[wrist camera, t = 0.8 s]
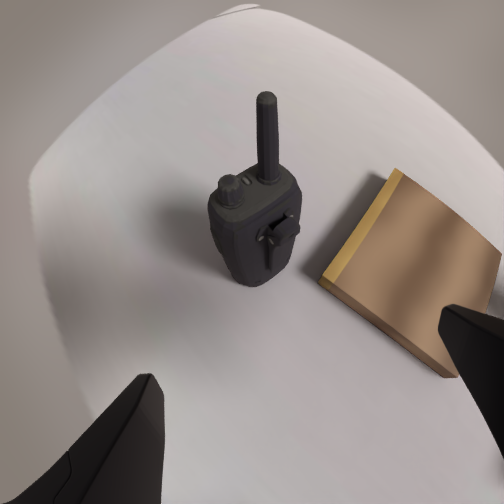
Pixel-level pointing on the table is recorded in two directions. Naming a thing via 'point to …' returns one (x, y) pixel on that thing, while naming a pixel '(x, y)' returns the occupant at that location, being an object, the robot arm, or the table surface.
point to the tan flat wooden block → (413, 268)
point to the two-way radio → (257, 208)
